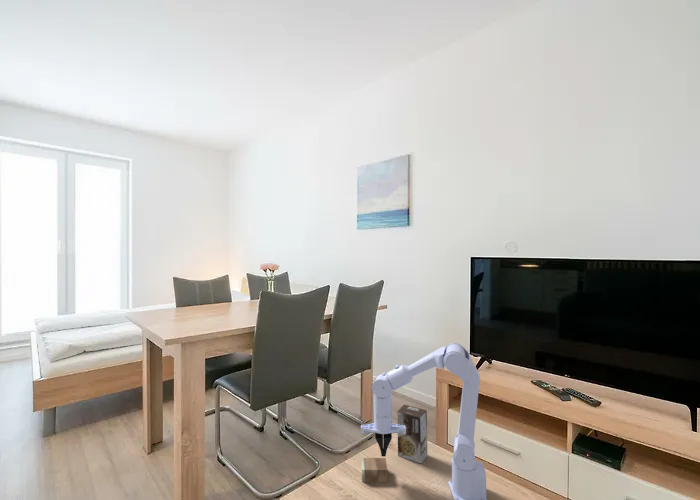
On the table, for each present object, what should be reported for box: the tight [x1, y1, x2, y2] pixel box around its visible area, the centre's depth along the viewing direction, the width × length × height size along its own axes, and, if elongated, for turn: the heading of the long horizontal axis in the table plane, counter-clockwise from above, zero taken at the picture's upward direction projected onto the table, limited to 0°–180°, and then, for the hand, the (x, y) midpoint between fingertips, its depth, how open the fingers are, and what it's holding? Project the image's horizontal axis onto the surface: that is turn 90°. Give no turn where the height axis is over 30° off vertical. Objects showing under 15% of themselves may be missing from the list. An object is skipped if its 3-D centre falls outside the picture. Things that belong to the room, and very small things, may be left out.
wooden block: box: [361, 457, 388, 483], centre depth 111 cm, size 4×6×8 cm
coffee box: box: [396, 404, 428, 464], centre depth 122 cm, size 9×6×16 cm
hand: (383, 454), depth 111 cm, fingers closed
